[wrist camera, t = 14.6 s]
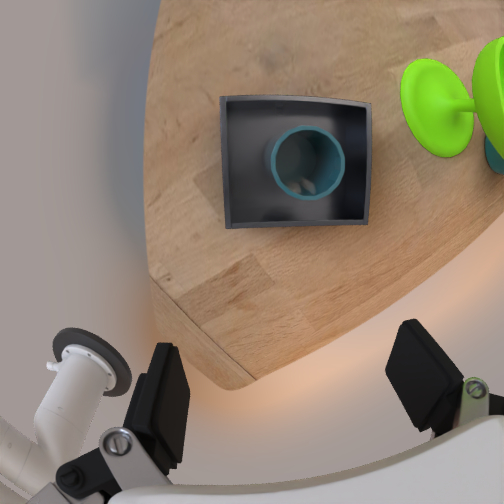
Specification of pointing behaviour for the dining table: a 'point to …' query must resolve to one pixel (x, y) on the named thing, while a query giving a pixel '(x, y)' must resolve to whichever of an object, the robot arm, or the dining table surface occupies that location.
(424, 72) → the wineglass
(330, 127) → the grey open box
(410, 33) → the dining table surface
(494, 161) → the cup
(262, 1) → the dining table surface
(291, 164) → the tumbler
